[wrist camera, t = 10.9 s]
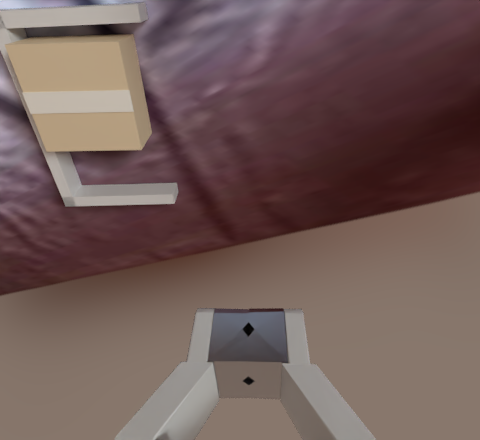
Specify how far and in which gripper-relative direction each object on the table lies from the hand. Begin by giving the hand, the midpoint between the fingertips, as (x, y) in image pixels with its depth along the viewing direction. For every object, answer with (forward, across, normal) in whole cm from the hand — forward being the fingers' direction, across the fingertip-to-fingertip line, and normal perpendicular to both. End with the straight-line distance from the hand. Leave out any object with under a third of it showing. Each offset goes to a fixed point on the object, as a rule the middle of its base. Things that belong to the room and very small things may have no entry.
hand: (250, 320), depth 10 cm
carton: (+27, +15, 0) cm, 31 cm away
